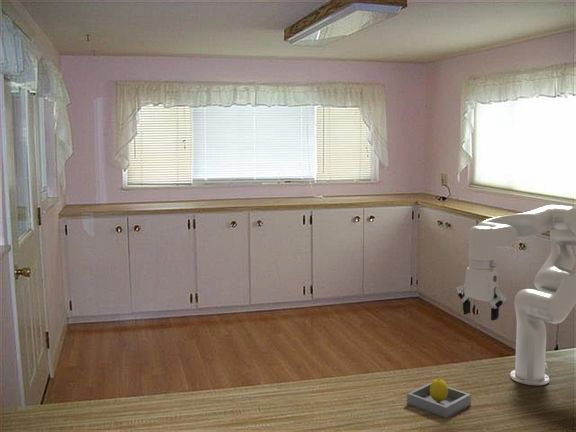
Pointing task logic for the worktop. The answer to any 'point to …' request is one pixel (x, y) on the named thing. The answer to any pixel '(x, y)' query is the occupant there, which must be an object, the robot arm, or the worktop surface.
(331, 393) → the worktop surface
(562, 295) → the robot arm
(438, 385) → the lemon
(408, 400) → the box
